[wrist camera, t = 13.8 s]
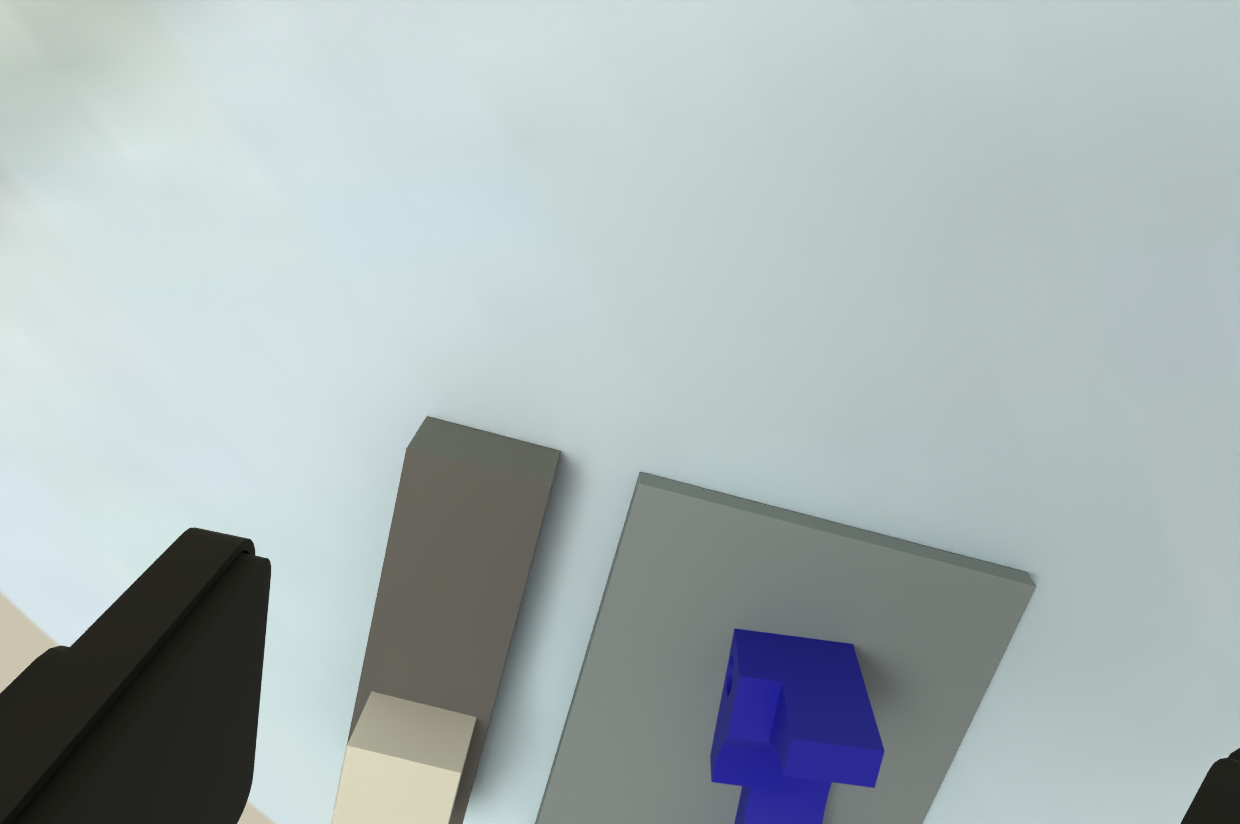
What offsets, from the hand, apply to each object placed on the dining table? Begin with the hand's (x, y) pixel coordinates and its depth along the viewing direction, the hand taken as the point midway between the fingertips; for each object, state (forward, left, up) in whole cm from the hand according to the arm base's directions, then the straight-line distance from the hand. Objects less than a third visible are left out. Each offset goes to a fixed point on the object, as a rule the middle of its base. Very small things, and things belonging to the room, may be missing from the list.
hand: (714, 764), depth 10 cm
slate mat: (-8, +17, -26) cm, 32 cm away
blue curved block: (-9, +19, -25) cm, 32 cm away
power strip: (+5, +16, -26) cm, 31 cm away
